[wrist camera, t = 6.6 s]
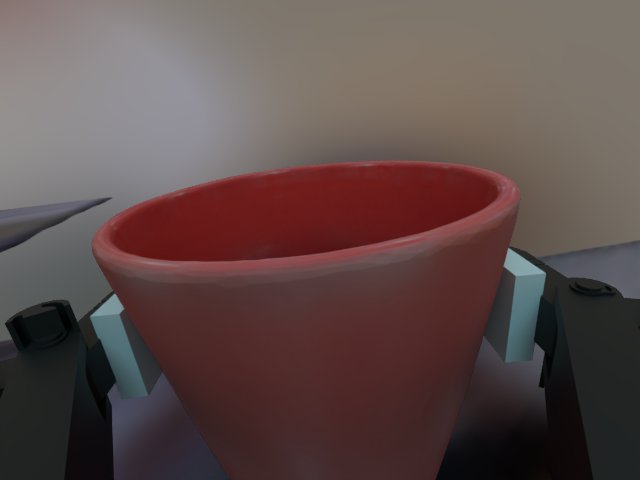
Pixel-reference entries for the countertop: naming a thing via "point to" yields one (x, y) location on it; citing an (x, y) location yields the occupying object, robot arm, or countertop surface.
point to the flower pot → (318, 309)
